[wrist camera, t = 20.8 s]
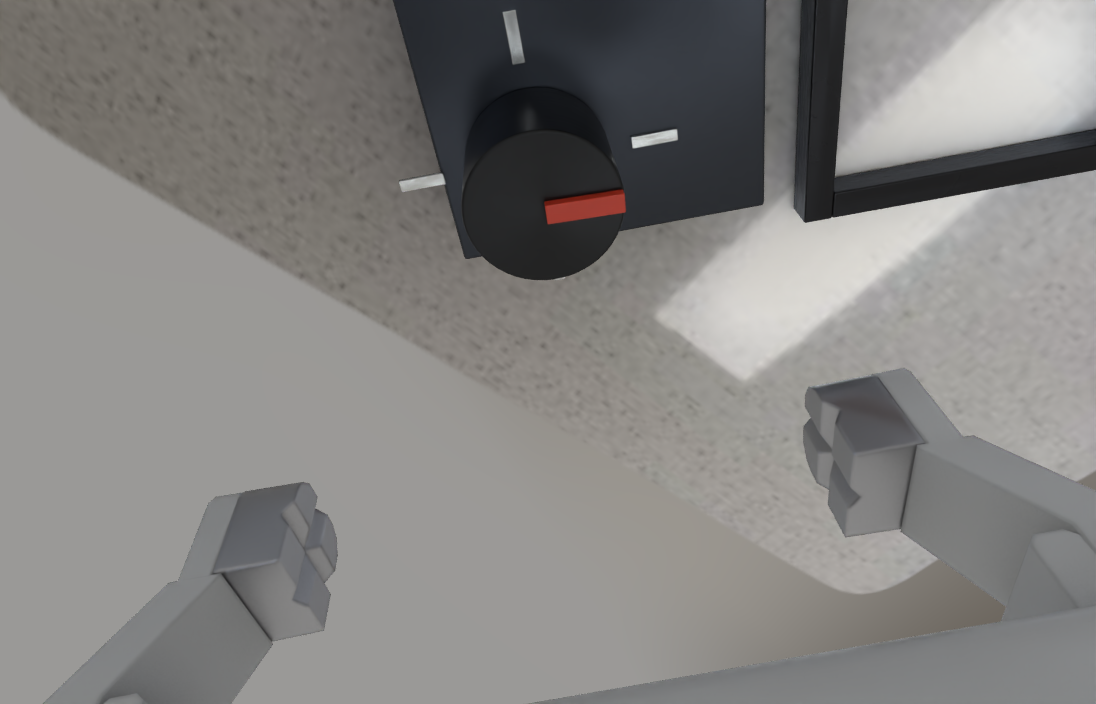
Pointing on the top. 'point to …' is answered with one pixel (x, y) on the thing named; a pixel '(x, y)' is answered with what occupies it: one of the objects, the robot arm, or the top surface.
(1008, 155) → the black flat square frame
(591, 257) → the knob
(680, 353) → the top surface
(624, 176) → the panel
